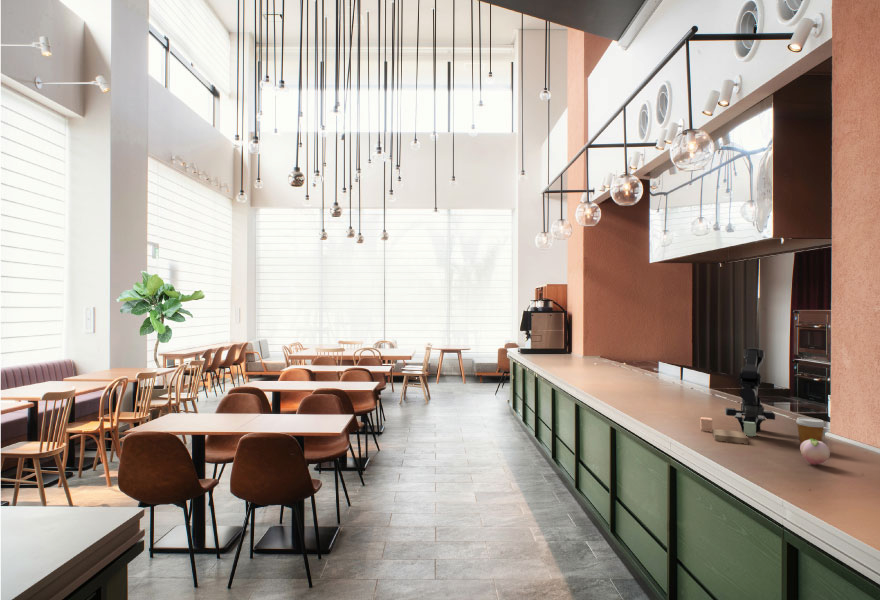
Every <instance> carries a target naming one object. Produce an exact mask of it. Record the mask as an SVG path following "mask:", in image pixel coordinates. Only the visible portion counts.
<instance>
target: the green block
mask: <svg viewBox="0 0 880 600" xmlns="http://www.w3.org/2000/svg"><path fill="white" fill-rule="evenodd" d="M743 427H744V433H745V434H746V435H747V437H753V436H756V437H757V433H756V424H755V422H746V421H743Z"/></svg>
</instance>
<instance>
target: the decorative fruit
mask: <svg viewBox="0 0 880 600" xmlns="http://www.w3.org/2000/svg"><path fill="white" fill-rule="evenodd" d="M799 449H800V450H799V451H800V452H801V455H802V456H803V458H804V459H805V460H806V461H807V462H809V464H811V465H813V466H815V465H818V464H823V463H824V462H826V461H827V460H829V457H830V455H831V453H830V452H831V451H830V448H829V447H828V446H827V444H825V443H824V442H823V441H821V442H820V441H817V440H816V439H815V437H814V439H809V440H806V441H804V442H803V443H802V444H801V446H799Z"/></svg>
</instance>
